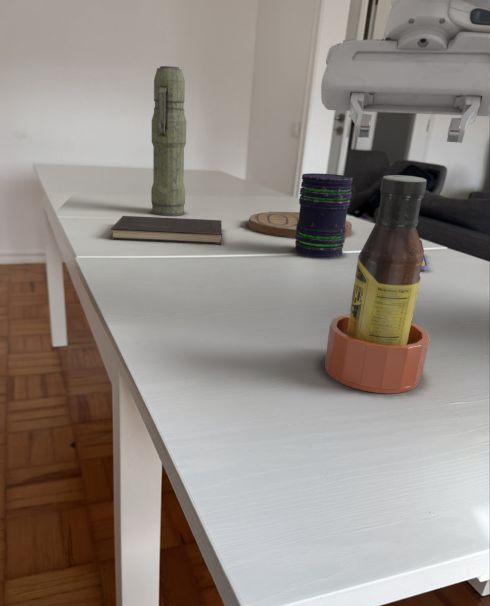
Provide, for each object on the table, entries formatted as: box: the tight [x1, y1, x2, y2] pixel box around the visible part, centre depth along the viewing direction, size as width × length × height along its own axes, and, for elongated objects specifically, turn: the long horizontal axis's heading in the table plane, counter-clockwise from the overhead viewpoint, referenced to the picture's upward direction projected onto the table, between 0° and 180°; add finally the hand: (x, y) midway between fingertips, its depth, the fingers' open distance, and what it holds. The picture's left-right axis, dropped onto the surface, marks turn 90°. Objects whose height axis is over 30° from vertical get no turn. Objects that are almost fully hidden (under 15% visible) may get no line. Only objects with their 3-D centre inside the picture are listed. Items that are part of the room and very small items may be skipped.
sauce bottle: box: [347, 174, 428, 345], centre depth 55 cm, size 7×6×20 cm
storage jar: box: [294, 172, 354, 260], centre depth 109 cm, size 10×10×15 cm
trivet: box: [248, 211, 353, 239], centre depth 135 cm, size 25×25×2 cm
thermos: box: [150, 65, 187, 217], centre depth 141 cm, size 9×12×35 cm
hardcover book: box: [110, 215, 223, 245], centre depth 121 cm, size 16×23×2 cm
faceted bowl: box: [324, 313, 430, 394], centre depth 59 cm, size 10×10×5 cm
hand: (407, 135), depth 58 cm, fingers open, 8 cm apart
